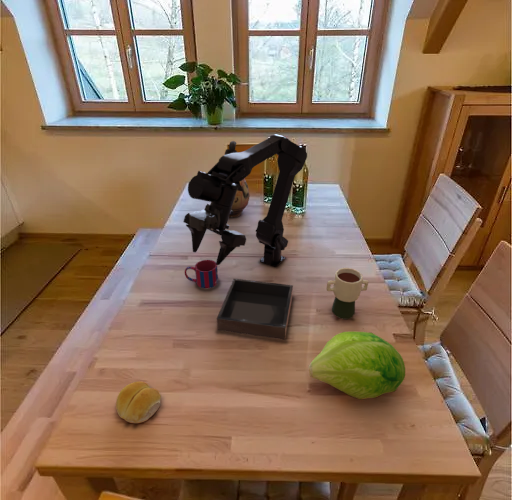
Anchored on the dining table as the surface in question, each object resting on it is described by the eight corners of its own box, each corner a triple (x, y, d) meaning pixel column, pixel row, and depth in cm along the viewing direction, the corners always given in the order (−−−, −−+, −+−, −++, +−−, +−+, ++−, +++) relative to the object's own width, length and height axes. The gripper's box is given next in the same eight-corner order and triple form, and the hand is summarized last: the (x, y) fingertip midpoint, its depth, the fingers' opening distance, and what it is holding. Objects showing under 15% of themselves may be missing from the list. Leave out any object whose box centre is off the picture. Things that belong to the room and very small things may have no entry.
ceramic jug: (249, 221, 147) (248, 148, 131) (212, 220, 147) (206, 148, 131) (250, 204, 161) (249, 137, 146) (216, 204, 162) (212, 137, 146)
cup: (216, 291, 107) (214, 272, 103) (183, 289, 108) (181, 270, 104) (220, 278, 113) (219, 260, 109) (189, 276, 114) (187, 258, 110)
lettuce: (303, 356, 85) (307, 313, 78) (386, 356, 85) (398, 313, 78) (311, 414, 72) (317, 370, 65) (410, 415, 72) (427, 370, 65)
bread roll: (139, 381, 79) (135, 369, 77) (167, 401, 75) (165, 388, 73) (107, 409, 73) (103, 397, 71) (137, 432, 69) (133, 420, 67)
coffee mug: (358, 304, 102) (365, 267, 95) (365, 321, 96) (374, 283, 89) (320, 305, 101) (325, 267, 95) (325, 322, 95) (331, 283, 89)
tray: (234, 291, 107) (233, 278, 104) (292, 298, 104) (293, 285, 102) (217, 332, 92) (216, 318, 90) (284, 341, 89) (285, 327, 87)
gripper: (176, 190, 92) (161, 245, 95) (228, 212, 82) (209, 273, 85) (205, 195, 101) (190, 246, 105) (255, 215, 91) (237, 271, 95)
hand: (205, 258), depth 97 cm, fingers open, 9 cm apart
